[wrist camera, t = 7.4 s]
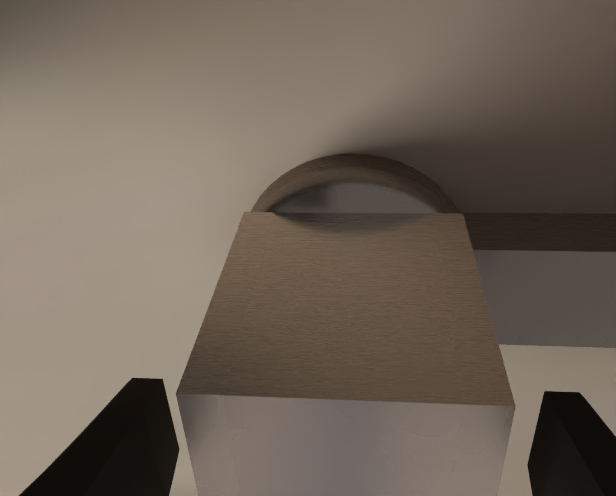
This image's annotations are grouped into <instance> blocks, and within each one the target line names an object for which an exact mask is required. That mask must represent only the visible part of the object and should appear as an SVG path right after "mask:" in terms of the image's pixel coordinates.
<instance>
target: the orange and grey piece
mask: <svg viewBox="0 0 616 496" xmlns="http://www.w3.org/2000/svg"><path fill="white" fill-rule="evenodd" d="M251 212H276V213H423V214H431V213H455V214H463V216H464V219H465V223H466V227H467V230H468V234H469V238H470V241H471V245H472V249H473V252H474V256H475V260H476V263H477V267H478V271H479V274H480V278H481V282H482V285H483V289H484V293H485V296H486V300H487V304H488V307H489V311H490V315H491V318H492V322H493V326H494V329H495V333H496V337H497V340H498V344H506V345H539V346H573V347H606V348H616V214H551V213H458V211H457V209H456V207H455V206H454V204H453V203H452V201H451V200H450V198H449V197H448V196H447V195H446V194H445V192H444V191H443V190H442V189H441V188H440V187H439V186H438V185H437V184H435V183H434V182H433V181H432V180H431V179H430V178H428V177H427V176H425V175H424V174H422V173H421V172H419V171H417V170H416V169H414V168H412V167H410V166H407V165H405V164H403V163H401V162H398V161H395V160H392V159H388V158H385V157H380V156H374V155H367V154H339V155H332V156H327V157H322V158H318V159H315V160H312V161H309V162H306V163H304V164H302V165H300V166H297V167H295V168H293V169H291V170H290V171H288V172H287V173H285V174H284V175H282V176H280V177H279V178H278V179H277V180H276V181H275V182H273V183H272V184H271V185H270V186H269V187H268V188H267V189H266V190H265V191H264V193H263V194H262V195H261V196H260V197H259V199H258V200H257V202H256V203H255V205H254V207H253V208H252V211H251Z"/></svg>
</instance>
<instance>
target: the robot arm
mask: <svg viewBox="0 0 616 496" xmlns="http://www.w3.org/2000/svg"><path fill="white" fill-rule="evenodd" d="M178 453H179V446H178V442H177V438H176V433H175V429H174V425H173V421H172V417H171V412H170V408H169V404H168V400H167V396H166V391H165V387H164V383H163V379H149V378H132V379H131V380H130V381H129V382H128V383H127V384H126V385H125V386H124V387H123V388H122V389H121V390H120V391H119V392H118V394H117V395H116V396H115V397H114V398H113V399H112V400H111V401H110V402H109V403H108V404H107V406H106V407H105V408H104V409H103V410H102V411H101V412H100V413H99V414H98V415H97V417H96V418H95V419H94V420H93V421H92V422H91V423H90V424H89V425H88V426H87V427H86V428H85V429H84V431H83V432H82V433H81V434H80V435H79V436H78V437H77V438H76V439H75V440H74V441H73V442H72V443H71V444H70V445H69V446H68V447H67V448H66V449H65V450H64V451H63V452H62V454H61V455H60V456H59V457H58V458H57V459H56V460H55V461H54V462H53V463H52V464H51V465H50V466H49V467H48V468H47V469H46V470H45V471H44V472H43V473H42V474H41V475H40V476H39V477H38V478H37V479H36V480H35V481H34V482H33V483H31V484H30V485H29V486H28V487H27V488H26V489H25V490H24V491H23V492H22V493H21V494H20V495H19V496H169V493H170V489H171V484H172V480H173V476H174V472H175V467H176V462H177V458H178ZM528 471H529V477H530V483H531V488H532V494H533V496H616V436H615V435H614V434H613V433H612V431H611V430H610V429H609V428H608V427H607V425H606V424H605V423H604V422H603V420H602V419H601V418H600V417H599V415H598V414H597V413H596V412H595V410H594V409H593V408H592V407H591V405H590V404H589V403H588V402H587V400H586V399H585V398H584V397H583V396H582V395H581V394H580V393H579V392H550V391H544V396H543V400H542V404H541V409H540V413H539V417H538V422H537V426H536V430H535V435H534V439H533V443H532V448H531V452H530V456H529V461H528Z"/></svg>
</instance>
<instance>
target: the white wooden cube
mask: <svg viewBox="0 0 616 496" xmlns="http://www.w3.org/2000/svg"><path fill="white" fill-rule="evenodd" d="M176 396H177V401H178V405H179V410H180V414H181V419H182V423H183V428H184V432H185V436H186V441H187V445H188V450H189V454H190V459H191V463H192V468H193V472H194V477H195V481H196V486H197V490H198V495H199V496H497V494H498V489H499V484H500V479H501V474H502V470H503V465H504V460H505V455H506V450H507V445H508V440H509V436H510V431H511V426H512V421H513V416H514V411H515V403H514V399H513V395H512V392H511V388H510V384H509V381H508V377H507V373H506V370H505V366H504V362H503V359H502V355H501V351H500V348H499V344H498V340H497V337H496V333H495V329H494V326H493V322H492V318H491V315H490V311H489V307H488V304H487V300H486V296H485V293H484V289H483V285H482V282H481V278H480V274H479V271H478V267H477V263H476V260H475V256H474V252H473V249H472V245H471V241H470V238H469V234H468V230H467V227H466V223H465V219H464V216H463V214H455V213H431V214H423V213H276V212H244V214H243V216H242V219H241V222H240V224H239V227H238V230H237V232H236V235H235V238H234V240H233V243H232V246H231V248H230V251H229V254H228V256H227V259H226V262H225V264H224V267H223V270H222V272H221V275H220V278H219V280H218V283H217V286H216V288H215V291H214V294H213V296H212V299H211V302H210V304H209V307H208V310H207V312H206V315H205V318H204V320H203V323H202V326H201V328H200V331H199V334H198V336H197V339H196V342H195V344H194V347H193V350H192V352H191V355H190V357H189V360H188V363H187V365H186V368H185V371H184V373H183V376H182V379H181V381H180V384H179V387H178V389H177V392H176Z"/></svg>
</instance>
